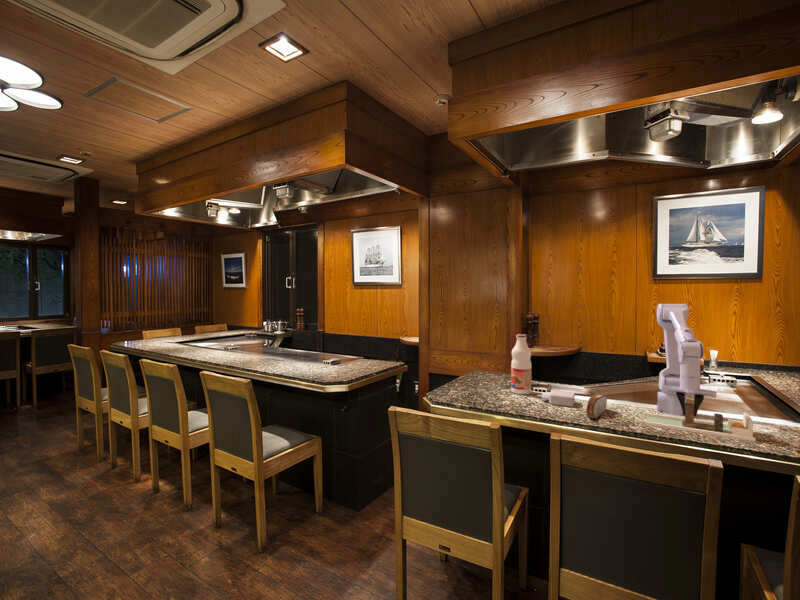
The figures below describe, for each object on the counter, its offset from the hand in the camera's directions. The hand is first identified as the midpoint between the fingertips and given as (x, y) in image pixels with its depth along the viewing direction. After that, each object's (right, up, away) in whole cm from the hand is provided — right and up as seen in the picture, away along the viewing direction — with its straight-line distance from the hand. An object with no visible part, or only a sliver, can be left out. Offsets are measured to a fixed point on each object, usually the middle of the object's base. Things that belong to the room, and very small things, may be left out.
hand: (689, 415), depth 139 cm
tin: (-24, -5, +16) cm, 30 cm away
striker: (+3, -4, -2) cm, 5 cm away
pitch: (+1, -5, -1) cm, 6 cm away
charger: (-33, -5, +36) cm, 49 cm away
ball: (+11, -2, -7) cm, 13 cm away
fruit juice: (-42, -5, +54) cm, 69 cm away
